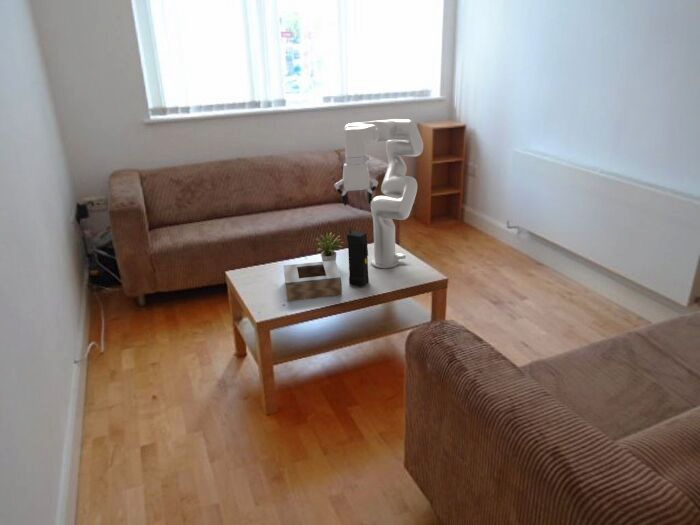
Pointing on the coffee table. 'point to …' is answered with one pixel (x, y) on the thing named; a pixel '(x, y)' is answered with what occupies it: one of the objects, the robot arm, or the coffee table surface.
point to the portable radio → (358, 258)
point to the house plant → (328, 248)
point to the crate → (312, 280)
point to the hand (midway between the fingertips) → (356, 203)
